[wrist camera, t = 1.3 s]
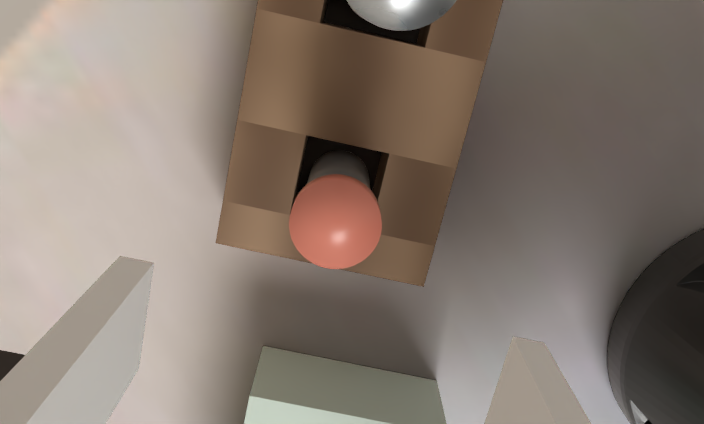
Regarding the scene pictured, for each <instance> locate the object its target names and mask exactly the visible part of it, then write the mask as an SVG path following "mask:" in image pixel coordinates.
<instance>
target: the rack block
mask: <svg viewBox="0 0 704 424" xmlns="http://www.w3.org/2000/svg"><path fill="white" fill-rule="evenodd" d="M244 424H446V419H445V415H444V411H443V406H442V402H441V397H440V393H439V389H438V384H437V381H436V380H431V379H426V378H421V377H416V376H411V375H406V374H401V373H396V372H391V371H386V370H381V369H376V368H371V367H366V366H361V365H356V364H351V363H346V362H342V361H337V360H332V359H327V358H322V357H317V356H312V355H307V354H302V353H297V352H292V351H287V350H282V349H277V348H272V347H267V346H263V348H262V352H261V355H260V359H259V363H258V366H257V370H256V374H255V377H254V381H253V385H252V389H251V392H250V396H249V401H248V406H247V411H246V415H245V420H244Z"/></svg>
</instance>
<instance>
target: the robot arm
mask: <svg viewBox="0 0 704 424" xmlns="http://www.w3.org/2000/svg"><path fill="white" fill-rule="evenodd" d="M153 267H154V263H152V262H148V261H143V260H138V259H133V258H128V257H123V256H120V257H119V258H118V259H117V260H116V261H115V262H114V263H113V264H112V265H111V266H110V267H109V268H108V269H107V270H106V271H105V272H104V273H103V274H102V275H101V277H100V278H99V279H98V280H97V281H96V282H95V283H94V284H93V285H92V286H91V287H90V288H89V289H88V290H87V291H86V292H85V293H84V294H83V295H82V296H81V297H80V298H79V300H78V301H77V302H76V303H75V304H74V305H73V306H72V307H71V308H70V309H69V310H68V311H67V312H66V313H65V314H64V315H63V316H62V317H61V318H60V319H59V320H58V321H57V323H56V324H55V325H54V326H53V327H52V328H51V329H50V330H49V331H48V332H47V333H46V334H45V335H44V336H43V337H42V338H41V339H40V340H39V341H38V342H37V343H36V344H35V346H34V347H33V348H32V349H31V350H30V351H29V352H28V353H27V354H26V355H22V354H17V353H12V352H7V351H2V350H0V424H106V422H107V421H108V419H109V417H110V416H111V414H112V412H113V411H114V409H115V407H116V406H117V404H118V402H119V401H120V399H121V397H122V396H123V394H124V392H125V391H126V389H127V387H128V386H129V384H130V382H131V381H132V379H133V377H134V376H135V374H136V372H137V371H138V369H139V364H140V357H141V350H142V343H143V336H144V329H145V322H146V315H147V308H148V301H149V294H150V288H151V281H152V274H153ZM607 364H608V374H609V380H610V384H611V387H612V391H613V393H614V396H615V399H616V401H617V403H618V405H619V407H620V408H621V410H622V412H623V413H624V415H625V416H626V418H627V419H628V421H629V422H630V424H704V229H703V230H701V231H699V232H696V233H694V234H692V235H691V236H689V237H687V238H685V239H683V240H682V241H680V242H679V243H677V244H675V245H674V246H673V247H671V248H670V249H668V250H667V251H666V252H664V253H663V254H662V255H661V256H660V257H658V258H657V259H656V260H655V261H654V262H653V263H652V264H651V265H650V266H649V267H648V268H647V269H646V270H645V271H644V272H643V273H642V274H641V275H640V277H639V278H638V279H637V280H636V282H635V283H634V284H633V286H632V287H631V289H630V290H629V292H628V293H627V295H626V297H625V298H624V300H623V302H622V304H621V306H620V308H619V310H618V312H617V315H616V317H615V320H614V323H613V326H612V329H611V333H610V338H609V344H608V354H607ZM484 424H591V422H590V421H589V419H588V417H587V416H586V414H585V412H584V410H583V409H582V407H581V405H580V404H579V402H578V400H577V398H576V397H575V395H574V393H573V391H572V390H571V388H570V386H569V385H568V383H567V381H566V379H565V378H564V376H563V374H562V372H561V371H560V369H559V367H558V366H557V364H556V362H555V360H554V359H553V357H552V355H551V353H550V352H549V350H548V348H547V347H546V345H545V343H543V342H538V341H533V340H528V339H524V338H519V337H514V336H513V337H512V341H511V344H510V347H509V350H508V353H507V356H506V359H505V362H504V365H503V368H502V371H501V374H500V377H499V380H498V383H497V387H496V390H495V393H494V396H493V399H492V402H491V405H490V408H489V411H488V414H487V417H486V420H485V423H484Z"/></svg>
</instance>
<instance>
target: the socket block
mask: <svg viewBox="0 0 704 424" xmlns="http://www.w3.org/2000/svg"><path fill="white" fill-rule="evenodd" d="M327 3H328V0H258V4H257V9H256V15H255V21H254V26H253V32H252V38H251V44H250V49H249V55H248V61H247V67H246V72H245V78H244V84H243V89H242V95H241V101H240V107H239V112H238V118H237V124H236V130H235V135H234V141H233V147H232V152H231V158H230V164H229V170H228V175H227V181H226V187H225V192H224V198H223V204H222V210H221V215H220V221H219V227H218V233H217V238H216V243H218V244H223V245H227V246H232V247H237V248H242V249H246V250H251V251H256V252H261V253H266V254H270V255H275V256H280V257H285V258H289V259H294V260H299V261H304V262H308V263H312V262H310V261H308V260H307V259H306V258H304V257H303V256H302V255H301V254H300V252H299V251H298V250H297V249H296V247H295V245H294V243H293V241H292V239H291V235H290V230H289V219H290V214H291V210H292V207H293V204H294V201H295V199H296V197H297V195H298V194H299V193H298V192H297V189H298V184H299V179H300V174H301V170H302V165H303V160H304V155H305V150H306V146H307V141H308V136H312V137H317V138H321V139H326V140H330V141H335V142H339V143H344V144H348V145H353V146H357V147H362V148H366V149H371V150H375V151H380V152H382V153H381V157H380V161H379V165H378V169H377V174H376V178H375V182H374V186H373V190H372V192H373V194H374V195H375V197H376V199H377V201H378V204H379V207H380V212H381V220H382V231H381V236H380V239H379V242H378V244H377V246H376V247H375V249H374V250H373V252H372V253H371V254H370V255H369V256H368V257H367V258H366V259H365V260H363V261H362V262H360V263H358V264H356V265H354V266H351V267H348V268H343V269H342V270H346V271H351V272H356V273H361V274H366V275H370V276H375V277H380V278H385V279H389V280H394V281H399V282H404V283H408V284H413V285H418V286H423V287H424V283H425V280H426V276H427V273H428V269H429V265H430V262H431V258H432V255H433V251H434V247H435V244H436V240H437V237H438V233H439V229H440V226H441V222H442V219H443V215H444V211H445V208H446V204H447V201H448V197H449V193H450V190H451V186H452V183H453V179H454V175H455V172H456V168H457V165H458V161H459V157H460V154H461V150H462V147H463V143H464V139H465V136H466V132H467V129H468V125H469V121H470V118H471V114H472V111H473V107H474V103H475V100H476V96H477V93H478V89H479V85H480V82H481V78H482V75H483V71H484V67H485V64H486V60H487V57H488V53H489V49H490V46H491V42H492V39H493V35H494V31H495V28H496V24H497V21H498V17H499V13H500V10H501V6H502V3H503V0H457V1H456V2H455V3H454V5H453V6H452V7H451V8H450V9H449V10H448V11H447V12H446V13H445V14H444V15H443V16H442V17H440V18H439V19H438V20H436V21H434V22H433V23H431V24H429V25H427V26H424V27H421V28H420V31H419V35H418V39H417V43H412V42H407V41H403V40H399V39H394V38H390V37H386V36H382V35H377V34H373V33H369V32H364V31H360V30H356V29H352V28H347V27H343V26H339V25H335V24H330V23H326V22H324V18H325V13H326V8H327Z"/></svg>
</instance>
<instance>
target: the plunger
mask: <svg viewBox="0 0 704 424" xmlns="http://www.w3.org/2000/svg"><path fill="white" fill-rule="evenodd" d="M289 230H290V235H291V239H292V241H293V243H294V245H295V247H296V249H297V250H298V251H299V252H300V254H301V255H302V256H303V257H304V258H306V259H307V260H308V261H310V262H312V263H313V264H315V265H318V266H320V267H324V268H329V269H343V268H348V267H351V266H354V265H356V264H358V263H360V262H362V261H363V260H365V259H366V258H367V257H368V256H369V255H370V254H371V253H372V252H373V250H374V249H375V247H376V246H377V244H378V242H379V239H380V236H381V231H382V220H381V212H380V207H379V204H378V201H377V199H376V197H375V195H374V194H373V192H372V191H371V190H370V181H369V173H368V170H367V167H366V165H365V164H364V162H363V161H362V160H361V159H360V158H359V157H358V156H357V155H355V154H353V153H351V152H349V151H345V150H333V151H330V152H327V153H325V154H323V155H322V156H320V157H319V158H318V159H317V160H316V161H315V163H314V164H313V166H312V168H311V171H310V175H309V179H308V182H307V185H306V186H305V187H303V188H302V190H301V191H300V192H299V194H298V195H297V197H296V199H295V201H294V204H293V207H292V210H291V214H290V219H289Z"/></svg>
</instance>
